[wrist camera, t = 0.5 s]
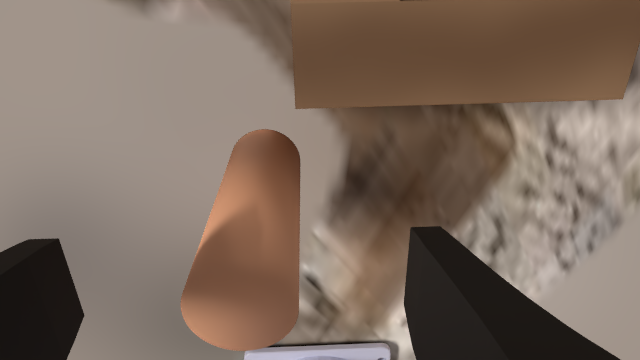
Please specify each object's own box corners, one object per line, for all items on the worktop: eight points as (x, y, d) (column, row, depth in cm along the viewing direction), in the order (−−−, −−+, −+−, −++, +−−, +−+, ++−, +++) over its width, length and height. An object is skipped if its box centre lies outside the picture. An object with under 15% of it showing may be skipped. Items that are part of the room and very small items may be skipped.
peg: (301, 190, 20) (301, 348, 12) (235, 193, 20) (190, 353, 12) (298, 128, 19) (296, 259, 11) (227, 130, 19) (170, 264, 11)
